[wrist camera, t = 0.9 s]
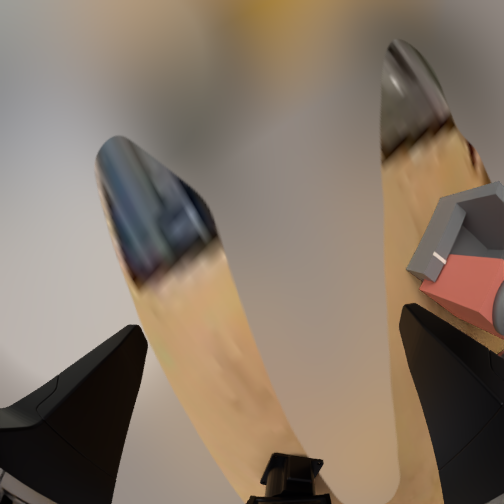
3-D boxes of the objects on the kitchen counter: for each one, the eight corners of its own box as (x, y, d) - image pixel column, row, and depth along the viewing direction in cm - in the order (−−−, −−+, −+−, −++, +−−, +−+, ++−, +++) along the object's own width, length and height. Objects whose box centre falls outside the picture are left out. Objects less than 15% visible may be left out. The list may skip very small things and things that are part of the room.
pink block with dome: (454, 318, 23) (519, 350, 12) (418, 290, 23) (484, 317, 12) (473, 281, 22) (542, 297, 11) (438, 251, 23) (510, 256, 12)
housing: (463, 313, 24) (519, 337, 14) (405, 269, 24) (460, 282, 15) (493, 247, 23) (551, 249, 13) (439, 197, 24) (498, 180, 14)
